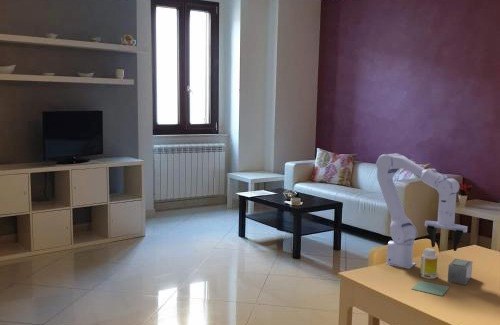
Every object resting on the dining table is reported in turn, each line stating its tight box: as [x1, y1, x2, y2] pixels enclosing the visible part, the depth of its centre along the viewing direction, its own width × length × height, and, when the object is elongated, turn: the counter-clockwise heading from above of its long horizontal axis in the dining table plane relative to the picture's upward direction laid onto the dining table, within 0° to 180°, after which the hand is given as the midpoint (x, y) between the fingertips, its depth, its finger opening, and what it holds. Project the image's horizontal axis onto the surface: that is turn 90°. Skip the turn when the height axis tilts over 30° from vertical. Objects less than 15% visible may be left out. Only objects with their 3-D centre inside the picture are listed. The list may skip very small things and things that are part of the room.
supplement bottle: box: [419, 247, 438, 280], centre depth 184 cm, size 6×6×10 cm
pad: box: [411, 280, 450, 297], centre depth 172 cm, size 10×10×1 cm
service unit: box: [447, 258, 473, 286], centre depth 182 cm, size 6×10×6 cm, turn 146°
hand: (444, 248), depth 185 cm, fingers open, 7 cm apart
